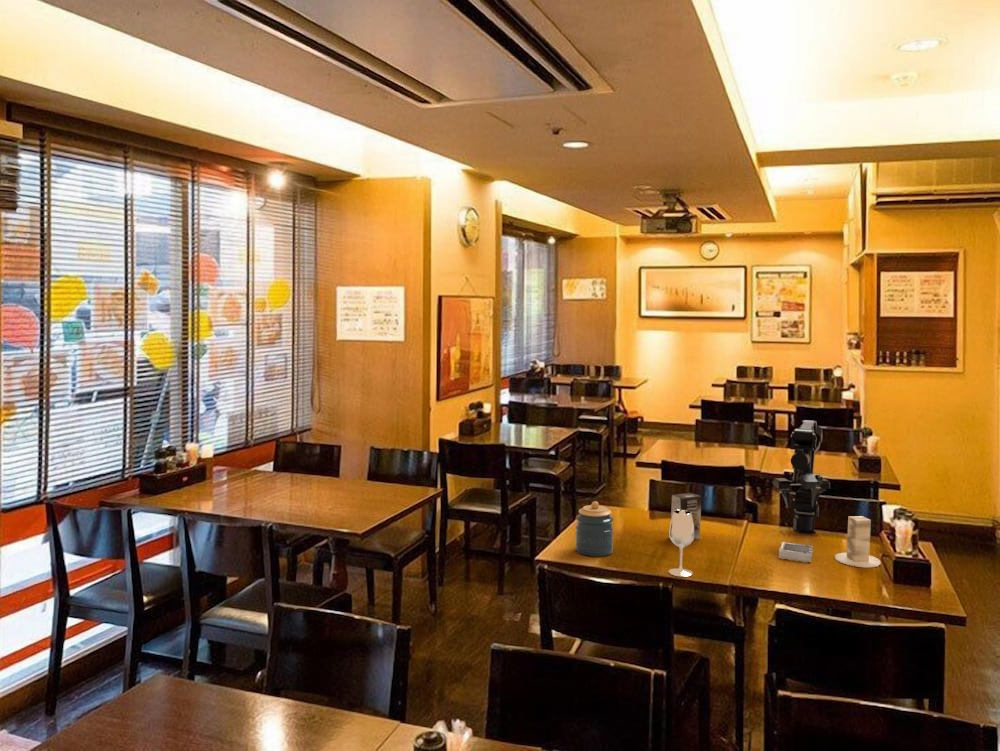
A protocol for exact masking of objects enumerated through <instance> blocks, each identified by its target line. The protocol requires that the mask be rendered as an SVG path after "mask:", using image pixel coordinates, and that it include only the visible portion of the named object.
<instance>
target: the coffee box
mask: <svg viewBox="0 0 1000 751" xmlns="http://www.w3.org/2000/svg"><path fill="white" fill-rule="evenodd" d="M675 510H688V511H690V512H691V514H692V519H693V525H694V539H696V540H700V539H701V518H702V517H701V515H702V496H701V495H700V494H696V493H692V492H688V493H678V494H671V511H670V513H671V514H670V520H671V519H672V515H673V512H674V511H675ZM694 539H693V541H695V540H694Z"/></svg>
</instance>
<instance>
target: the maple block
mask: <svg viewBox="0 0 1000 751" xmlns="http://www.w3.org/2000/svg"><path fill="white" fill-rule="evenodd" d="M847 519H848V520H847V539H846V552H847V556H846V557H847V558H849V559H851V560H853V561H855V562H860V561H869V555H870V549H871V548H870V546H871V544H870V543H871V525H872V520H871V519H869V518H867V517H865V516H862V515H859V516H858V515H857V516H856V515H855V516H850V515H849V516H848V518H847Z"/></svg>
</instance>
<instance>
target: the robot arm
mask: <svg viewBox="0 0 1000 751" xmlns="http://www.w3.org/2000/svg"><path fill="white" fill-rule="evenodd" d="M790 440H791V441H790V447H789V448H790V450H794V453H793V455H792V456H791V458H790V464H791V466H792V467H791V468H792V469H793V476H791V480H788V479H787V478H785V477H783V478H782V477H779V478H778V477H776V478H774V479H773V482H772V484H773V487H775V488H777V490H780V492H781V495H782V496H783V497H782V498H783V500H784V503H785V506H786V507H787V508H790V505H791V504H790V503H791V502H790V500H791V498H790V493H791V489H790V488H791V487H800V488H799V489H798V490H797V491H796V492H795V493H794V494H795V495H794V498H793V499H792V516H794V517H793V526H792V530H795V531H796V532H797V533H800V534H806V533H807V534H810V533H809V532H816V533H817V531H816V530H815V518H818V517H820V516H819V514H820V513H819V512H820V508H819V507H820V506H819V504H818V500H819V497H820V496H821V494H822V493H823V492H826V491H827V490H829V489H831V483H830V481H829V480H828V479H825V478H823V475H822V474H814V470H815V468H814V467H815V460H816V459H815V456H816V453H817V452H818V451H819V449H820V447H821V443H822V442H823V428H822V427H820V426H819V425H818V423H817V421H816V420H809V419H808V420H807V419H804V420H802V421H801V425H800V426H799V427H798V428H795V429H794V430H793V431H792V433H791V439H790Z"/></svg>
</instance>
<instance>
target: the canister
mask: <svg viewBox="0 0 1000 751" xmlns="http://www.w3.org/2000/svg"><path fill="white" fill-rule="evenodd" d="M578 513H579V514H578V515H576V517H575V520H576V522H577V524H576V525H575V530H576V531H575V532H576V533H575V539H576V540H575V550H576V552H577V553H578V554H580V555H582V554H583V555H582V556H586V555H589V556H588V557H606V556H609V555H610V554H612V553H613V550H614V544H613V543H614V529H615V528H614V526H613V522H614V520H615V518H614V517H613V516H612V511H611V510H610V509H608V507H606V506H603V505H600V503H599V502H598V501H596V500H595V501H592V502H591V504H590V505H589V504H588V505H585V506H583V507H582V508H580V509H578Z"/></svg>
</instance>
